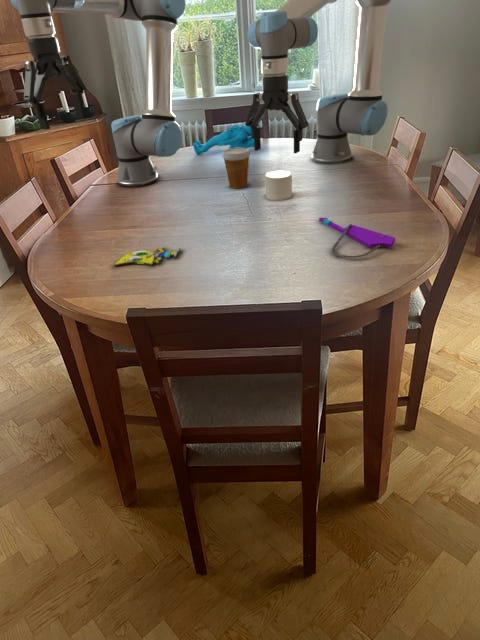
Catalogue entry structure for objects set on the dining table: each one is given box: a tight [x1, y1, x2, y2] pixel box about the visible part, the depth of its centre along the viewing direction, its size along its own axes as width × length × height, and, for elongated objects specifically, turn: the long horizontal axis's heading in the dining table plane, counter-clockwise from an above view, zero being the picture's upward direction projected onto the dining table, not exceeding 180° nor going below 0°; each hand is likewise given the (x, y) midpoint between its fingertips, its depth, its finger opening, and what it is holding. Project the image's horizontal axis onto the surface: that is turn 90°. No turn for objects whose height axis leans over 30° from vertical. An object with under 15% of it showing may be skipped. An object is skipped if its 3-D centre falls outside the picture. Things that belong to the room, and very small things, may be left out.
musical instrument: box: [318, 217, 396, 259], centre depth 123 cm, size 24×2×20 cm
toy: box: [192, 123, 261, 155], centre depth 208 cm, size 17×11×30 cm
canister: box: [264, 169, 293, 201], centre depth 156 cm, size 8×8×7 cm
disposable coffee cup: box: [222, 148, 251, 189], centre depth 166 cm, size 10×10×12 cm
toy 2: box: [114, 247, 181, 267], centre depth 124 cm, size 10×1×15 cm
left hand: (64, 123), depth 136 cm, fingers open, 13 cm apart
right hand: (276, 151), depth 150 cm, fingers open, 13 cm apart
